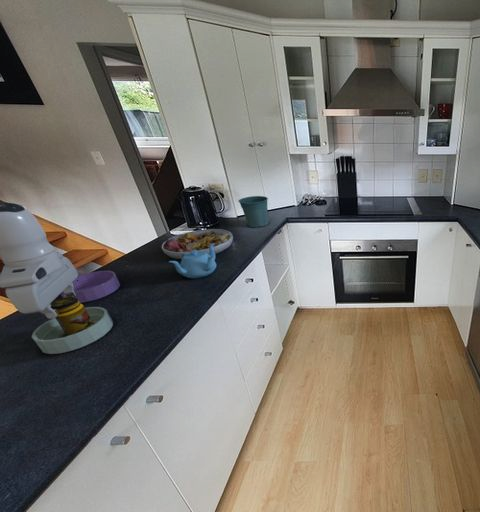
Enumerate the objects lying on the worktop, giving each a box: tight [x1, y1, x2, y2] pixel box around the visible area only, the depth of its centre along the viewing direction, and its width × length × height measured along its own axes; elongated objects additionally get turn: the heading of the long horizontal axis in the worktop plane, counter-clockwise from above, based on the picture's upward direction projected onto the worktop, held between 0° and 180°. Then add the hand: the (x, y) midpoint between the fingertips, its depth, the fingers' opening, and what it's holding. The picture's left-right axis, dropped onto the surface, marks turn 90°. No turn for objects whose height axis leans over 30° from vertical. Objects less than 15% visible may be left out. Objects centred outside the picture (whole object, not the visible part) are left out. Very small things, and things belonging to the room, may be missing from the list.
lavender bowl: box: [59, 270, 121, 304], centre depth 101 cm, size 15×15×5 cm
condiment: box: [50, 297, 97, 338], centre depth 79 cm, size 7×8×12 cm
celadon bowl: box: [31, 306, 114, 355], centre depth 81 cm, size 15×15×5 cm
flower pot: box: [238, 195, 270, 228], centre depth 168 cm, size 16×16×16 cm
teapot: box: [168, 243, 217, 279], centre depth 115 cm, size 15×15×10 cm
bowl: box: [161, 228, 234, 260], centre depth 137 cm, size 30×30×8 cm
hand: (63, 306), depth 78 cm, fingers open, 8 cm apart
